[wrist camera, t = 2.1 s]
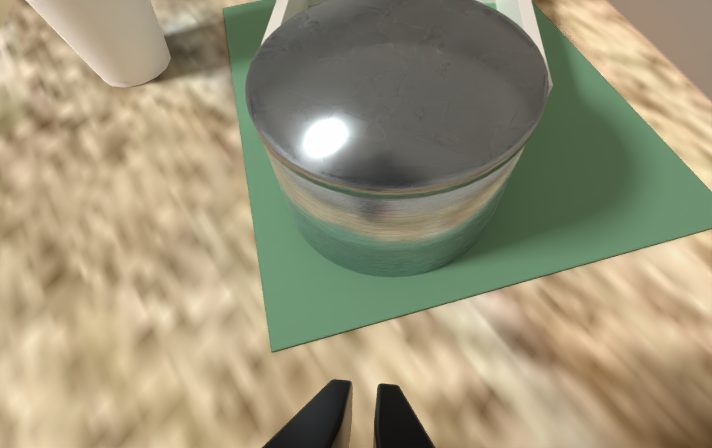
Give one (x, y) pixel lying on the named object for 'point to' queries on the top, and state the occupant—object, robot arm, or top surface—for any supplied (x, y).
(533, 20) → the beige thin-walled piece
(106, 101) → the top surface
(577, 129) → the green mat
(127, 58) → the foam cup
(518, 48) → the chrome metal canister
